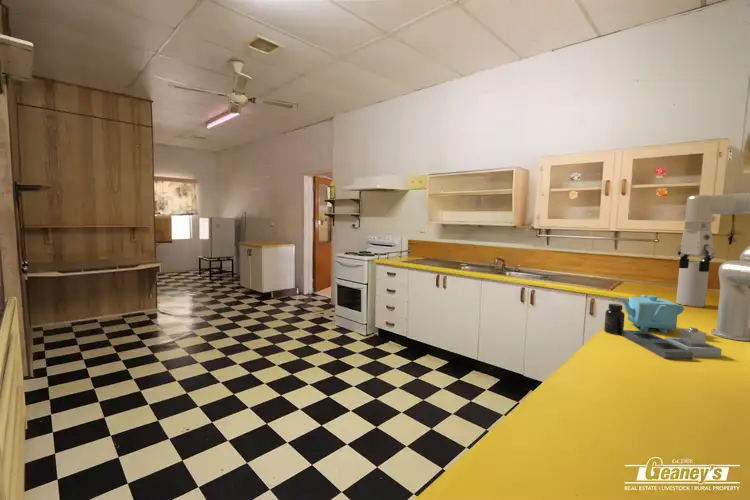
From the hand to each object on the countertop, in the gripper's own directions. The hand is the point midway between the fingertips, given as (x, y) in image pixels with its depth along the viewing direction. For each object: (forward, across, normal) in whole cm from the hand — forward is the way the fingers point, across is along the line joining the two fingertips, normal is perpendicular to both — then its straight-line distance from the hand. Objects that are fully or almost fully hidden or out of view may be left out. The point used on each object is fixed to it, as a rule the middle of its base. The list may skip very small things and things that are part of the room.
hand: (693, 269), depth 141 cm
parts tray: (+28, -14, +9) cm, 33 cm away
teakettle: (+28, +14, +6) cm, 32 cm away
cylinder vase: (+28, +64, -50) cm, 86 cm away
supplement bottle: (+28, +6, +25) cm, 38 cm away
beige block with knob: (+28, -14, +9) cm, 32 cm away
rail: (+28, -11, +20) cm, 36 cm away
